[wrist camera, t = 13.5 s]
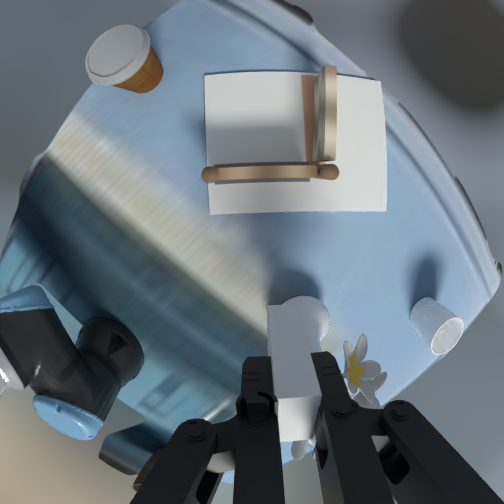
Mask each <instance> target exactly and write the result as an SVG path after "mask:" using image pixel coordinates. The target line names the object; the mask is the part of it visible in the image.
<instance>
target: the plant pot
mask: <svg viewBox="0 0 504 504" xmlns="http://www.w3.org/2000/svg"><path fill="white" fill-rule="evenodd" d="M163 450H164V448H161V449H158V450H157V451H156V452H155V453H154V454H153V455H152V456H151V457H150V459H149V460H148V461H147V462H146V464H145V465H144V467H143V468H142V470H141V471H140V473H139V475H138V476H137V478H136V480H135V482H134V484H133V486H132V487H133V489H134V490H135V491H136V492H137V491H138V490H139V488H140V487H141V485H142V484H143V482H144V481H145V479H146V477H147V476H148V474H149V473H150V471H151V469H152V468H153V466H154V465H155V463H156V462H157V460H158V458H159V457H160V455H161V453H162V452H163Z"/></svg>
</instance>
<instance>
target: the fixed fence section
mask: <svg viewBox="0 0 504 504" xmlns="http://www.w3.org/2000/svg"><path fill="white" fill-rule="evenodd" d="M201 176H202V179H203V180H204V181H205V182H206V183H214V182H218V181H222V180H234V179H258V178H316V179H325V180H335V179H337V178H338V176H339V169H338V167H337V166H336V165H335V164H322V165H314V166H305V165H290V166H248V167H228V168H219V167H212V166H209V167H206V168H204V169H203V171H202V174H201Z"/></svg>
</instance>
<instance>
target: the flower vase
mask: <svg viewBox="0 0 504 504" xmlns="http://www.w3.org/2000/svg"><path fill="white" fill-rule="evenodd" d="M287 304H296V306H297V309H298V313H299V316H300V319H301V323H302V326H303V330H304V333H305V336H306V340H307V343H308V347H309V350H310V353H315V352H322V350H321V346H320V341H321V340H322V339H323V338H324V336H325V335H326V333H327V331H328V328H329V325H330V315H329V312H328V309H327V308H326V306H325V305H324V303H322V302H321V301H320V300H318V299H316V298H314V297H311V296H296V297H293V298H291V299H289V300H287V301H286V302H284V303H283V304H282V305H287ZM367 345H368V344H367V338H366V336H365V335H364V334H362V335H361V336H360V338H359V340H358V342H357V345H356V347H355V350H354V351H353V348H352V346H351V344H350V343H349V342H348V341H345V342H344V345H343V346H344V347H343V348H344V356H345V370H344V373H342V377H343V378H346V379H347V381H348V387H349V389H347V390H348V392H349V395H350V397H351V399H352V398H353V397H354V400H355V401H356V402H357V403H358V404H359V406H361V407H364V408H370V409H380V404H379V401H378V399H377V398H376V397H375V393H374V392H376V391H378V390H379V389H380V388H381V387H382V385H383V384H384V382H385V380H386V377H387V372H382V373H381V367H380V365H379V364H378V363H377V362H376V361H373V360H368V361H364V362H361V361H362V360H363V359H364V358H365V356H366V353H367ZM360 362H361V363H360ZM380 373H381V374H380ZM372 378H374V379H373V380H372ZM363 379H365V380H363ZM370 380H371V381H370ZM288 442H291V441H287V442H280V443H281V444H282V443H288ZM308 442H309V444H311V445H313V446H315V444H316V439H315V434H314V436H313V439H308V440H298V441H293V443H292V448H291V452H292V456H293V458H294V459H296V460H300V459H301V458H302V457H303V456H304V454H305V452H306V448H307V443H308Z"/></svg>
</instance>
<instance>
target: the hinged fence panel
mask: <svg viewBox="0 0 504 504" xmlns="http://www.w3.org/2000/svg"><path fill="white" fill-rule="evenodd" d="M336 135H337V67H336V66H330V65H325V66H324V67H323V69H322V70H321V72H320V73H319V74H318V76H317V77H316V79H315V80H314V125H313V152H312V161H313V162H329V161H335V160H336Z"/></svg>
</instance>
